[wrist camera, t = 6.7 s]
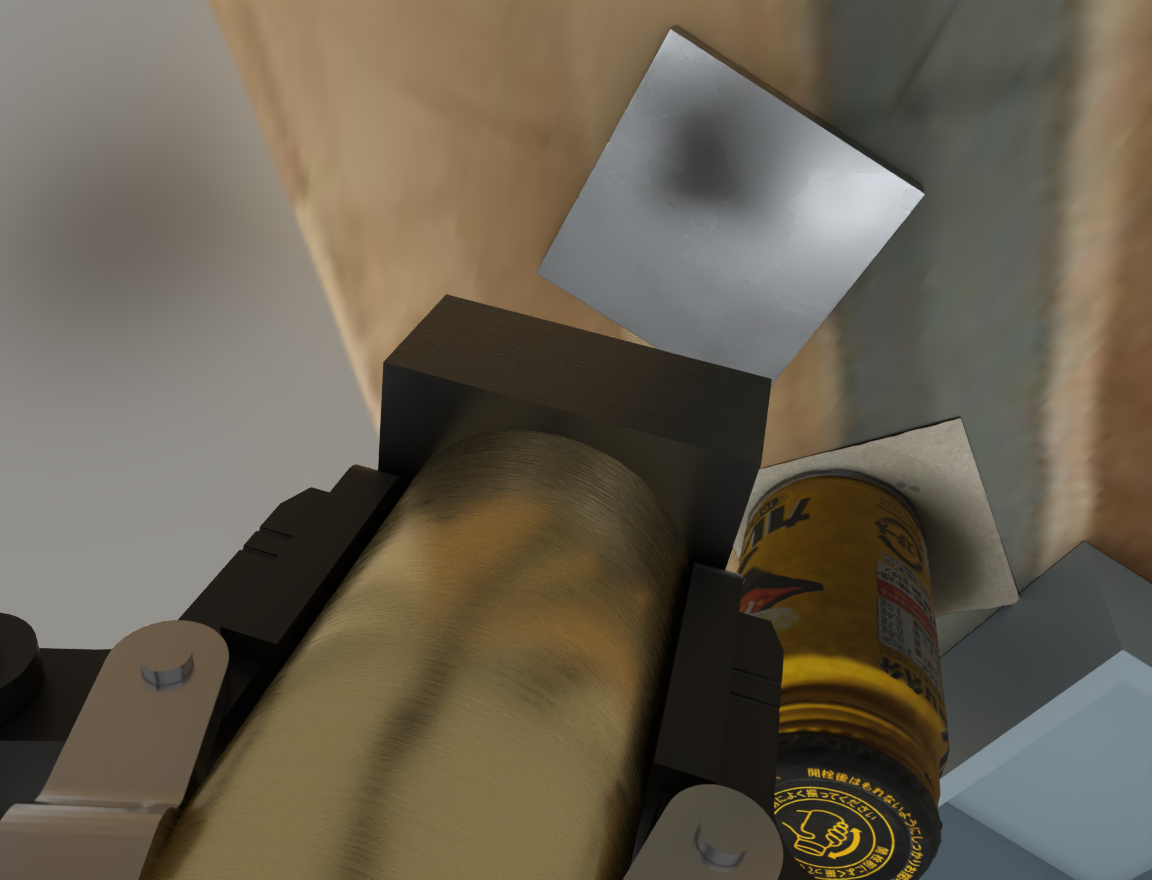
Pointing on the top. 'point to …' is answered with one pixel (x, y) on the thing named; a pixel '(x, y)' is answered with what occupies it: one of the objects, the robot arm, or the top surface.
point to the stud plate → (724, 216)
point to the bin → (1052, 732)
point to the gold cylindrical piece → (492, 618)
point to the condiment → (867, 638)
